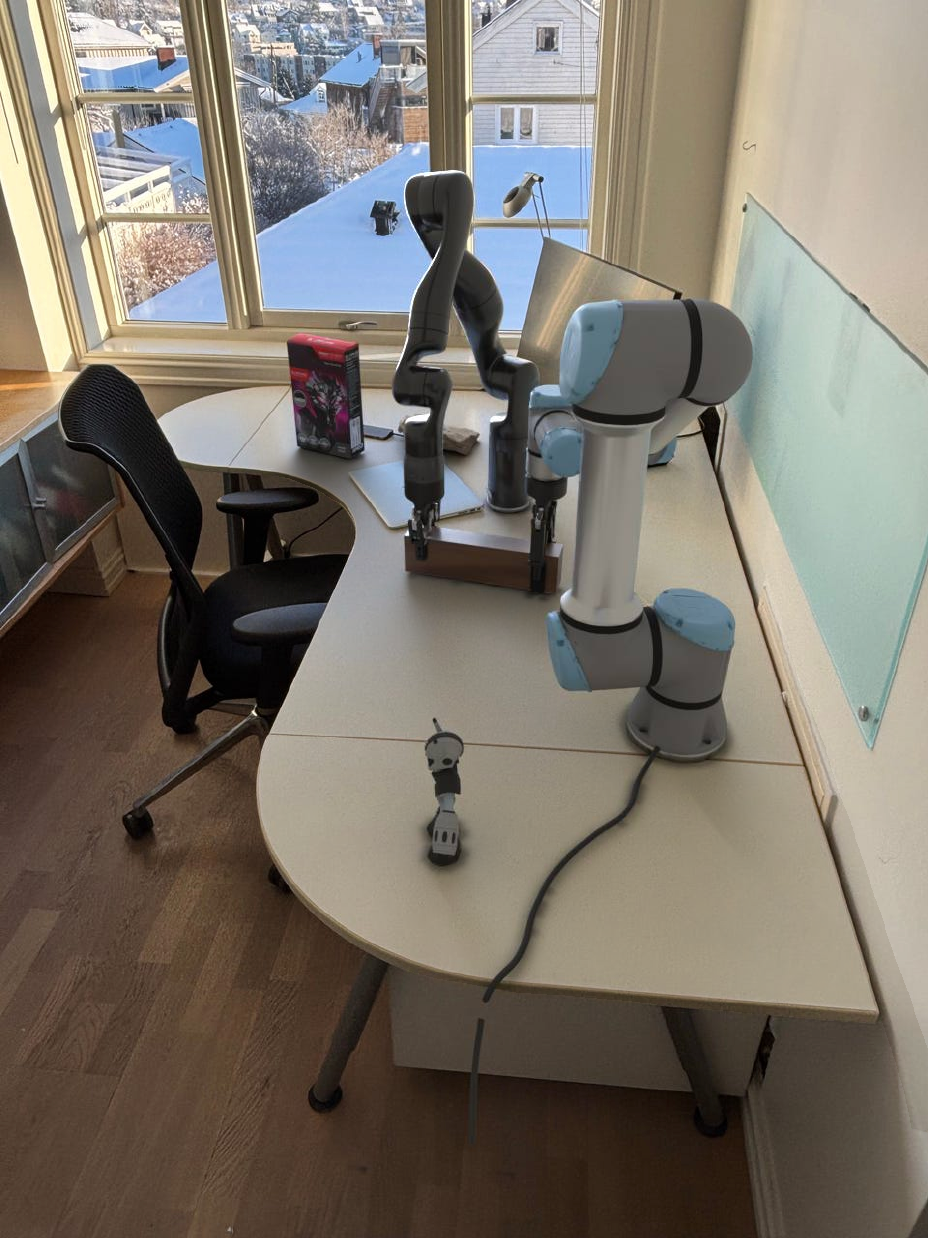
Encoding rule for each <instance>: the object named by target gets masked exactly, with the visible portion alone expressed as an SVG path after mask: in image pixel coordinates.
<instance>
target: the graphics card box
mask: <svg viewBox="0 0 928 1238" xmlns="http://www.w3.org/2000/svg"><path fill="white" fill-rule="evenodd" d="M286 347H287V359H288V369H289V378H290V389H291V397H292V407H293V418H294V419H293V420H294V428H295V438H296V439H295V441H296V447H299V448H303V449H307V450H310V451H315V452H320V453H323V454H324V453H325V454H329V455H332V456H336V457H341V458H346V459H353V458H354V457H356V456H358V455H360V454H362V453H363V452H365V447H366V446H365V430H364V415H363V414H364V413H363V398H362V381H361V380H362V379H361V363H360V344H359V342H351V341H346V340H342V339H341V340H340V339H336V338H330V337H325V336H319V335H314V334H308V333H304V332H300V333H298V334H295V335H293V336H292V337H290V338H289V339H288V340H287V341H286Z"/></svg>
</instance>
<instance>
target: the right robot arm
mask: <svg viewBox="0 0 928 1238" xmlns="http://www.w3.org/2000/svg"><path fill="white" fill-rule="evenodd" d="M753 360H754V348H753V343H752V340H751V336H750V334H749V332H748V330H747V328H746V326H745V324H744V323H743V321H742V320H741V319H740V318H739V316H737V315H736V314H735V313H734V312H732V311H731V310H730V309H729V308H727V307H725V306H723V305H722V304H720V303H718V302H715V301H711V300H708V299H703V298H685V299H615V298H614V299H611V300H607V301H597V302H596V301H595V302H587V303H584V304H582V305H580V306H579V307H577V309H576V310H575V311H574V312H573V313H572V315H571V317H570V319H569V320H568V323H567V325H566V328H565V332H564V335H563V339H562V344H561V349H560V355H559V365H558V368H559V369H558V372H559V378H558V384H542V385H539V386H538V387H536V388H534V389H533V390H532V392H531V394H530V402H529V407H528V410H529V421H528V446H527V455H526V471H527V473H526V480H525V492H526V494H527V495H528V496H529V498H532V499H533V500H534V503H533V504H532V509H531V513H532V518H531V519H530V540H531V541H530V559H528V560H527V563H528V564H529V566H531V575H530V590H529V593H535V594H539V595H540V594H542V595H544V594H545V592H544V589H545V574H546V562H545V557H546V547H547V542H548V543H556V544H557V541H555V540H554V539H555V537H556V534H555V532H556V517H557V508H558V500H560V499H562V498H564V497H565V496H566V495H567V493H568V481H569V480H568V479H569V478H573V477H575V476H577V475H579V476H578V488H577V489H578V490H577V506H576V519H575V521H576V522H575V535H574V536H575V537H574V538H575V539H574V550H573V552H574V553H573V563H572V565H573V567H572V582H571V588H569V589H568V590H566V591H565V592H564V593H563V594H562V595H561V597H560V602H559V610H553V611H551V612H548V613H547V615H546V620H545V626H546V627H545V628H546V639H547V645H548V650H549V655H550V661H551V665H552V668H553V669H552V670H553V673H554V675H555V678H556V681H557V683H558V685H559V686H560V687H561V688H562V689H563V690H565V691H568V692H588V693H592V692H593V691H606V690H618V689H619V690H620V689H634V688H635V689H637V688H639V689H638V691H637V692H636V694H635V695H634V697H633V699H632V701H631V702H630V704H629V706H628V708H627V712H626V719H625V728H626V732H627V734H628V736H629V738H630V739H631V741H632V742H634V744H636V745H637V746H638V747H639V748H640V749H641V750H643V751H645V752H646V753H648V754H650V755H649V756H648V758H647V759H646V761H645V763H644V765H643V766H642V767H641V769H640V771H639V773H638V775H637V777H636V778H635V782H634V784H633V788H632V792H631V796H630V799H629V801H628V803H627V805H626V807H624V809H623V810H622V811H620V813H619V814H618V815H617V816H615V817H614V818H613V819H611V820H610V821H608V822H606V823H605V824H603V825H601V826H600V827H598V828H597V829H595V830H594V831H593V832H591V833H590V834H589V835H588V836H587V837H585V838H584V839H583V840H582V841H580V842H578V844H577V845H575V846H574V847H573V848H572V849H570V850H569V851H568V852H567V853H566V854H565V855H564V856H563V858H561V860H559V862H558V863H557V864H556V865H555V867H554V868H553V869H552V870H551V872H550V873H549V875H548V876H547V878H546V879H545V881H544V883H543V884H542V885H541V888H540V889H539V891H538V894H537V895H536V897H535V899H534V902H533V904H532V907H531V909H530V910H529V913H528V918H527V921H526V925H525V929H524V933H523V937H522V941H521V944H520V946H519V948H518V950H517V952H516V954H515V956H514V957H513V958H512V959H511V960H510V962H509V963H508V964H507V965H505V966H504V967H503V968H502V969H501V970H500V971H499V972H498V973H497V974H496V976H495V977H493V979H492V980H491V982H490V983H489V985H488V986H487V988H486V989H485V992H484V995H483V997H482V1002H483V1003H484V1004H486V1003H489V1001H490V1000H491V998H492V995H493V993H494V992H495V990H496V988H497V987H498V985H500V983H501V982H502V981H503V980H504V978H505V977H507V975H510V973H511V972H512V971H513V970H514V969H515V968H516V967H517V966H518V964H519V963H520V962H521V960H522V958H523V956H524V954H525V953H526V950H527V948H528V946H529V943H530V939H531V935H532V931H533V927H534V923H535V919H536V915H537V913H538V910H539V907H540V906H541V903H542V901H543V899H544V897H545V895H546V893H547V891H548V889H549V888H550V886H551V885H552V883H553V881H554V880H555V878H556V876H558V874H559V873H560V872H561V871H562V869H563V868H565V866H566V865H567V863H568V862H569V861H570V860H572V858H574V857H575V856H576V855H577V854H578V853H579V852H580V851H582V850H583V849H584V848H585V847H586V846H588V845H589V844H590V843H591V842H592V841H594V840H595V839H596V838H597V837H599V836H600V835H602V834H604V833H605V832H607V831H608V830H609V829H611V828H613V827H615V826H616V825H617V824H619V822H621V821H622V820H623V819H625V818H626V817H627V816H628V814H629V813H630V812H631V811H632V809H633V807H634V806H635V803H636V801H637V798H638V794H639V791H640V787H641V785H642V784H641V783H642V781H643V780H644V779H643V778H644V777H645V775H646V773H647V771H648V770H649V768H650V767H651V765H652V763H653V761H654V760H655V759H656V758H659V759H662V760H666V761H670V762H675V763H694V762H700V761H703V760H706V759H709V758H711V757H714V755H716V754H718V752H720V751H721V750H722V748H723V747H724V744H725V743H726V740H727V739H726V738H727V733H728V721H727V716H726V712H725V708H724V707H725V706H724V701H723V692H724V686H725V682H726V678H727V674H728V669H729V664H730V659H731V654H732V651H733V649H734V646H735V632H736V618H735V617H734V614H733V612H732V611H731V609H730V608H729V607H728V606H727V605H726V604H725V603H723V602H722V601H721V600H719V599H718V598H716V597H715V596H712V595H710V594H708V593H706V592H704V591H700V590H696V589H691V588H684V587H680V588H679V587H674V588H668V589H665V590H663V591H662V592H660V593H659V594H658V595H657V596H656V598H655V599H654V602H653V605H648V606H644V603H643V600H642V598H640V597H639V596H638V595H637V594H636V593H635V587H636V586H635V585H636V579H637V578H636V577H637V567H638V558H639V549H640V539H641V529H642V519H643V510H644V500H645V490H646V481H647V471H648V465H649V466H651V465H656V464H663V463H668V462H670V461H671V460H672V459H673V457H674V456H675V452H676V449H677V445H678V435H680V434H681V433H682V432H683V431H684V430H685V429H686V428H687V427H689V426H690V425H691V424H692V423H693V422H694V421H695V420H696V419H697V418H698V417H699V416H701V415H702V414H703V413H704V412H705V411H706V410H707V409H709V408H711V407H716V406H720V405H722V404H724V403H726V402H727V401H729V399H731V398H732V397H733V396H734V395H736V393H738V392H739V390H740V389H742V387H743V386H744V385H745V383H746V381H747V380H748V377H749V375H750V373H751V371H752V366H753V362H754V361H753ZM484 1029H485V1019H484V1018H480V1017H477V1022H476V1031H475V1038H474V1043H473V1051H472V1057H471V1058H472V1059H471V1069H470V1072H471V1073H470V1089H469V1091H470V1092H469V1103H470V1104H469V1105H470V1106H469V1116H470V1117H469V1139H468V1140H469V1144H471V1145H474V1144H476V1140H477V1139H476V1137H477V1105H478V1104H477V1103H478V1101H477V1100H478V1099H477V1096H478V1076H479V1063H480V1055H481V1049H482V1048H481V1047H482V1041H483V1035H484Z"/></svg>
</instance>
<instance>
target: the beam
mask: <svg viewBox="0 0 928 1238" xmlns="http://www.w3.org/2000/svg"><path fill="white" fill-rule="evenodd" d="M426 527H427V526H424V525H423V528H426ZM423 534H424V533H423ZM403 539H404V543H403V544H404V571H405V572H407V573H408V572H409V573H414V574H415V573H416V574H421V575H427V576H433V577H442V578H448V579H455V580H462V581H468V582H474V583H481V584H487V585H495V586H502V587H508V588H513V589H514V588H516V589H519V590H528V591H530V575H531V566H529V564H528V563H527V560H528V559H530V541H531V539H527V538H518V537H511V536H504V535H497V534H489V533H483V532H477V531H476V532H475V531H467V530H461V529H453V528H447V527H439V526H437V527H433V526H431V531H430V532H429V533H428V538H427V560H426V561H420V560H416V558H415V545H411V544H410V537H409V530H408V529H407V531H406V532H405V533H404V535H403ZM564 546H565V545H564V544H563V543H562V544H561V543H557V542H556V543H548V542H547V547H546V557H545V562H546V574H545V589H544V593H548V594H555V595H556V594H557V592H558V589H559V587H560V585H561V581H562V572H563V570H562V569H563V556H564Z"/></svg>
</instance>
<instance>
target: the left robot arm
mask: <svg viewBox="0 0 928 1238" xmlns="http://www.w3.org/2000/svg"><path fill="white" fill-rule="evenodd" d="M403 200H404V206H405V210H406V215H407V217H408V219H409V222H410V224H411V226H412V227H413V229H414V232H415V234H416V235H417V237H418V238H419V240H420V243H421V244H422V245H423V247H424V249H425V251H426V252H427V254H428V256H429V258H430V259H431V264H430V265H429V267H428V269H427V271H426V272H425V273H424V275H423V277H422V279H421V280H420V282H419V283H418V285H417V286H416V289H415V290H414V294H413V296H412V300H411V303H410V308H409V317H408V326H407V336H406V340H405V344H404V347H403V350H402V354H401V356H400V359H399V361H398V364H397V366H396V369H395V371H394V374H393V377H392V380H391V386H390V387H391V395H392V397H393V399H394V401H395V402H396V404H398V405H400V406H402V407H412V408H424V409H429V413H426V414H421V415H420V416H415V417H411V418H409V419H408V420H407V421H406V422H405V424H404V432H403V445H404V447H403V449H404V452H403V453H404V454H403V483H404V484H403V488H404V489H403V491H404V498H405V499H406V500H408V501H409V502H411V503H412V504H413V506H412V508H411V516H412V519H411V518H408V520H407V531H408V530H409V537H410V544H411V545H415V558H416V560H420V561H426V560H427V538H428V533H429V532H430V531H431V526H433V527H438V523H439V522H440V520H441V505H442V504H441V501H442V500H443V498H444V496H445V457H444V449H443V424H444V422H445V417H446V413H447V409H448V405H449V403H450V399H451V397H452V392H453V385H454V384H453V379H452V376H451V374H450V373H449V372H448V371H447V369H445V368H443V367H435V366H425V365H424V366H423V365H419V363H420V361H421V360H422V359H423V358H425V357H428V356H435V355H440V354H443V353H444V352H445V351H446V349H447V347H448V346H447V345H448V339H449V329H450V323H451V322H450V321H451V313H452V312H451V311H452V308H453V310H454V313H455V316H456V317H457V319H458V321H459V323H460V325H461V327H462V330H463V332H464V335H465V337H466V340H467V343H468V345H469V347H470V349H471V352H472V355H473V358H474V361H475V365H476V369H477V371H478V375H479V379H480V381H481V384H482V387H483V388H484V390H485V392H486V394H488V395H489V396H491V397H492V398H495V399H497V400H501V401H503V402H506V403H507V409H506V411H502V412H498V413H496V414H494V415H493V416H492V417H490V420H489V424H488V428H489V429H488V434H489V435H488V466H487V467H488V468H487V469H488V471H487V477H488V478H487V486H486V487H485V492H486V494H487V498H486V504H487V506H488V507H489V508H490V509H492V510H494V511H496V512H500V513H505V514H506V513H508V514H509V513H518V512H522V511H524V510H526V509H527V508H528V507H529V505H530V496H528V495H527V494H526V492H525V480H526V473H527V471H526V455H527V446H528V421H529V410H528V407H529V402H530V394H531V392H532V390H533V389H534V388H536V387H538V386H540V381H541V380H540V379H541V378H540V371H539V367H538V366H537V364H536V363H535V362H534V361H531V360H528V359H525V358H522V357H519V356H515V355H513V354H509V353H508V351H506V349H505V348H504V346H503V343H502V341H501V339H500V335H499V329H500V326H501V324H502V320H503V316H504V301H503V298H502V295H501V293H500V289H499V287H498V284H497V281H496V279H495V276H493V275H494V274H492V272H491V271H490V269H489V268H488V267H487V266H486V265H485V264H484V263H483V262H482V261H481V259H479V258H478V257H476V256H475V254H473V253H472V252H470V250H468V249H467V248H466V246H467V243H468V238H469V235H470V231H471V227H472V223H473V219H474V218H473V217H474V212H475V205H476V203H475V190H474V186H473V183H472V181H471V179H470V177H469V176H468V174H466V172H464V171H463V170H445V171H433V172H423V173H418V174H414V175H413V176H411V177H409V179H408V180H407V181H406V183H405V186H404V191H403ZM444 425H445V424H444ZM423 525H424V526H427V527H426V528H423ZM423 533H424V534H423Z"/></svg>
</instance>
